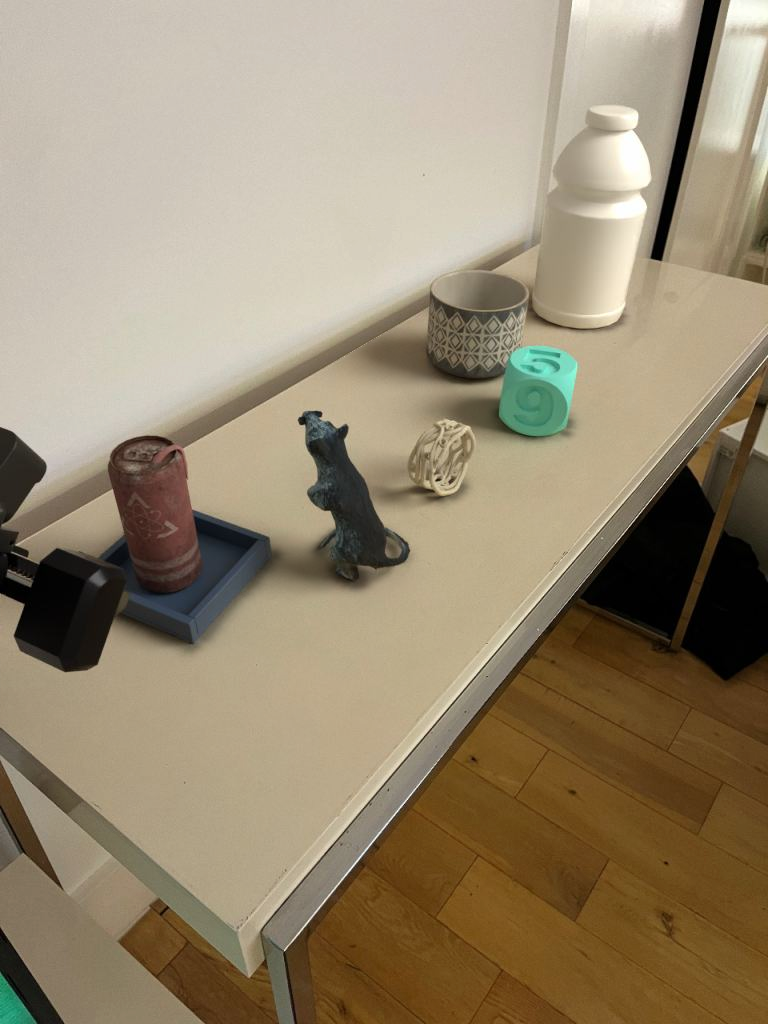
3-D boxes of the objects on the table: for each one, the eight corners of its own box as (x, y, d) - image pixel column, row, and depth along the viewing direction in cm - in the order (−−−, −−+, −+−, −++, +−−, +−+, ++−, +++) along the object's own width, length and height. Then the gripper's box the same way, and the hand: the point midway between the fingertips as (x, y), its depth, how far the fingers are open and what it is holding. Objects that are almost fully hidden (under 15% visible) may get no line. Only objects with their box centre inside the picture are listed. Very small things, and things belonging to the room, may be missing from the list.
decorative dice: (568, 407, 98) (580, 350, 93) (563, 441, 92) (574, 382, 87) (505, 397, 99) (513, 340, 94) (496, 431, 93) (503, 372, 88)
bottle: (523, 322, 116) (552, 117, 98) (536, 285, 126) (565, 93, 108) (619, 336, 113) (667, 127, 95) (625, 297, 123) (670, 102, 105)
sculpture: (343, 511, 82) (340, 386, 72) (425, 556, 76) (433, 429, 67) (287, 552, 77) (275, 425, 67) (370, 604, 71) (370, 474, 62)
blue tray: (193, 644, 67) (189, 624, 66) (81, 596, 72) (75, 577, 70) (271, 555, 76) (269, 536, 75) (168, 517, 80) (164, 499, 79)
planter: (506, 393, 100) (516, 318, 94) (413, 374, 104) (417, 300, 97) (527, 349, 109) (538, 278, 103) (441, 333, 113) (446, 263, 106)
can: (216, 578, 73) (195, 457, 64) (151, 606, 70) (120, 483, 61) (190, 542, 77) (167, 423, 68) (127, 566, 74) (94, 446, 65)
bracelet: (476, 476, 87) (483, 415, 81) (434, 511, 82) (439, 449, 77) (447, 462, 88) (452, 402, 83) (404, 496, 84) (407, 434, 79)
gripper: (59, 460, 37) (223, 507, 52) (-197, 369, 43) (15, 434, 58) (-21, 684, 36) (167, 667, 51) (-267, 559, 43) (-36, 576, 57)
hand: (74, 577), depth 54 cm, fingers open, 9 cm apart
